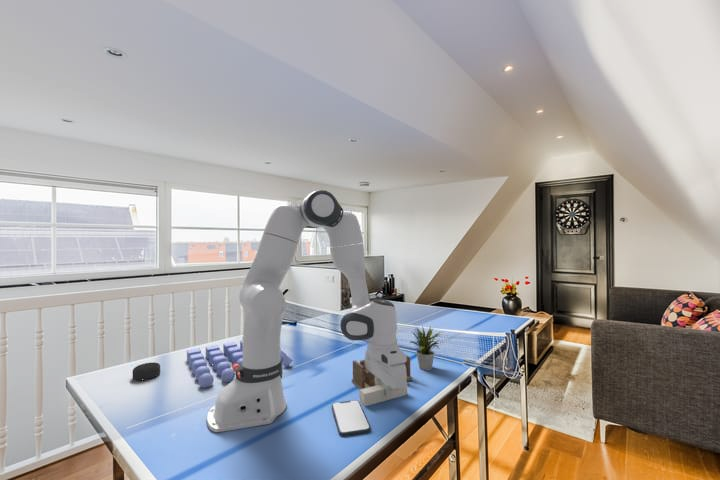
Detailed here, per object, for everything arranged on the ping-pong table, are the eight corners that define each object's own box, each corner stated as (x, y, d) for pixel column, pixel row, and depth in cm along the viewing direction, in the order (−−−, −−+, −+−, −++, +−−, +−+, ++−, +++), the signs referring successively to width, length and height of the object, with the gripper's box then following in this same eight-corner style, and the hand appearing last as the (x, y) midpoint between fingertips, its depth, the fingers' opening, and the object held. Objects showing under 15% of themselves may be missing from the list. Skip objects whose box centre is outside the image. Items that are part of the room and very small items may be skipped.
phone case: (372, 435, 88) (358, 404, 103) (372, 429, 88) (358, 399, 103) (339, 440, 86) (330, 407, 101) (339, 433, 86) (330, 402, 101)
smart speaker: (146, 382, 120) (146, 371, 120) (126, 380, 122) (126, 369, 122) (165, 372, 129) (165, 362, 129) (146, 371, 131) (146, 361, 131)
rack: (363, 392, 110) (363, 368, 110) (351, 382, 118) (351, 359, 118) (412, 379, 120) (411, 358, 120) (398, 371, 128) (397, 350, 128)
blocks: (267, 345, 161) (267, 335, 161) (295, 368, 133) (295, 356, 133) (186, 361, 142) (186, 350, 142) (199, 392, 113) (199, 377, 113)
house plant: (442, 378, 121) (442, 333, 120) (405, 373, 125) (404, 330, 125) (445, 364, 134) (445, 324, 134) (411, 360, 139) (411, 321, 138)
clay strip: (364, 406, 101) (364, 393, 101) (359, 402, 104) (359, 389, 104) (407, 395, 109) (407, 382, 109) (401, 391, 112) (401, 379, 111)
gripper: (359, 342, 114) (360, 382, 114) (392, 362, 96) (392, 409, 96) (375, 339, 117) (376, 378, 117) (410, 358, 99) (410, 404, 99)
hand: (383, 392), depth 106 cm, fingers closed on clay strip, 3 cm apart
